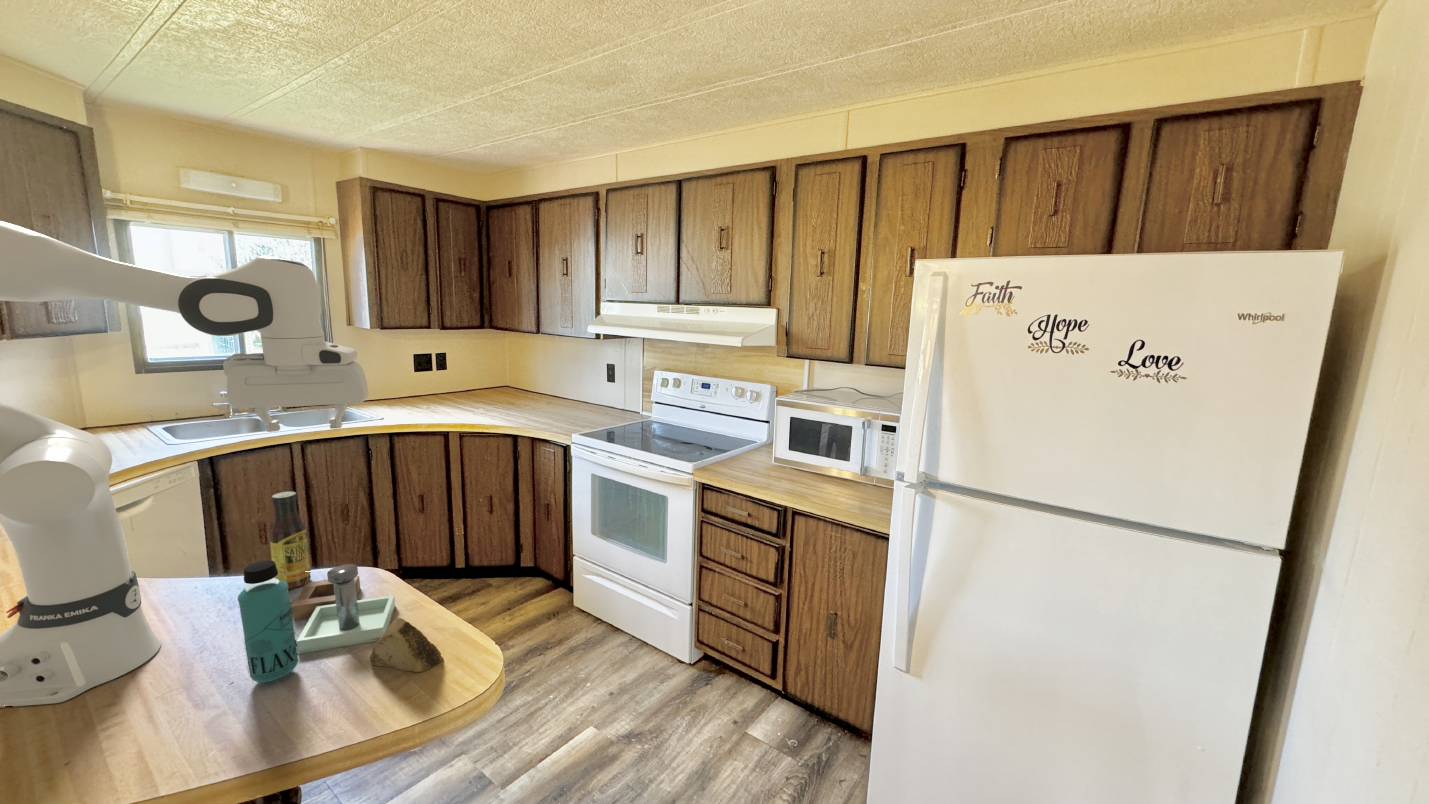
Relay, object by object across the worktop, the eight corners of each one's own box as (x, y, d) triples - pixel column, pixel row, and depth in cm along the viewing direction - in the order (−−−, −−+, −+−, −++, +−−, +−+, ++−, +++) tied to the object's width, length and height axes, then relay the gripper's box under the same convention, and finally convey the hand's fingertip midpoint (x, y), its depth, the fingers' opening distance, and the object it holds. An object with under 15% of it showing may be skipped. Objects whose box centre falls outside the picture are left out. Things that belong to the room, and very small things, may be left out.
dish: (298, 654, 95) (296, 641, 95) (318, 618, 105) (316, 606, 105) (384, 639, 100) (383, 627, 99) (395, 606, 110) (394, 595, 109)
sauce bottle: (292, 593, 113) (279, 502, 109) (267, 589, 115) (253, 499, 110) (320, 577, 120) (309, 491, 116) (296, 573, 121) (284, 488, 117)
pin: (331, 635, 100) (323, 578, 97) (338, 620, 104) (331, 566, 102) (361, 630, 101) (354, 574, 99) (366, 616, 106) (360, 562, 103)
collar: (294, 620, 104) (292, 606, 104) (309, 595, 113) (307, 582, 112) (349, 612, 108) (347, 598, 107) (360, 588, 116) (359, 575, 115)
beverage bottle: (245, 696, 85) (225, 579, 81) (256, 670, 91) (238, 559, 87) (297, 684, 88) (280, 570, 84) (304, 659, 94) (289, 551, 90)
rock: (347, 659, 91) (375, 677, 85) (373, 606, 94) (402, 620, 89) (406, 667, 99) (436, 683, 93) (428, 618, 102) (458, 631, 97)
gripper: (212, 356, 90) (225, 437, 93) (358, 354, 97) (366, 430, 100) (230, 351, 96) (241, 428, 98) (366, 350, 103) (373, 421, 105)
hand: (305, 429), depth 99 cm, fingers open, 8 cm apart
